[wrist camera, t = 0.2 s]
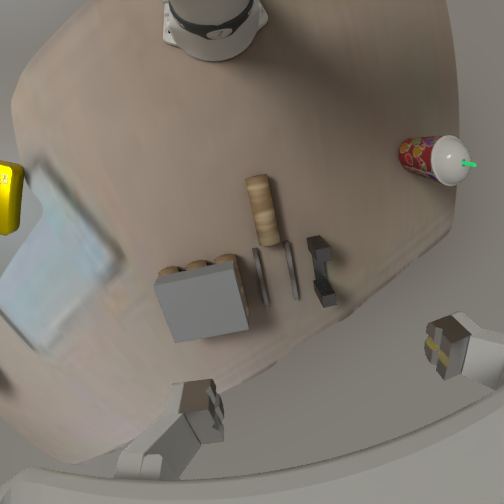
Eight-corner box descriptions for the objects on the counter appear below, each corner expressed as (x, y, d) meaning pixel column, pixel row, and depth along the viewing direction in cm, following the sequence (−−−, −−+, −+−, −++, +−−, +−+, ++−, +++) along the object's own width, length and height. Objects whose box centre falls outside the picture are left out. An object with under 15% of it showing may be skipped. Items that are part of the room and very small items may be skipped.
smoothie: (410, 184, 56) (474, 204, 37) (384, 155, 54) (446, 164, 35) (432, 155, 54) (499, 166, 36) (408, 125, 52) (473, 125, 34)
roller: (244, 178, 55) (245, 180, 51) (265, 173, 55) (268, 175, 51) (258, 241, 59) (260, 247, 55) (278, 236, 59) (281, 243, 55)
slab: (158, 276, 55) (153, 286, 52) (233, 260, 55) (233, 268, 51) (178, 331, 59) (175, 342, 56) (247, 317, 59) (249, 329, 55)
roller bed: (160, 268, 59) (156, 276, 56) (287, 240, 59) (291, 247, 55) (179, 321, 63) (176, 331, 60) (297, 296, 63) (301, 305, 59)
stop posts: (306, 238, 59) (315, 250, 52) (319, 235, 59) (329, 246, 52) (314, 291, 63) (323, 307, 56) (326, 288, 63) (336, 304, 56)
